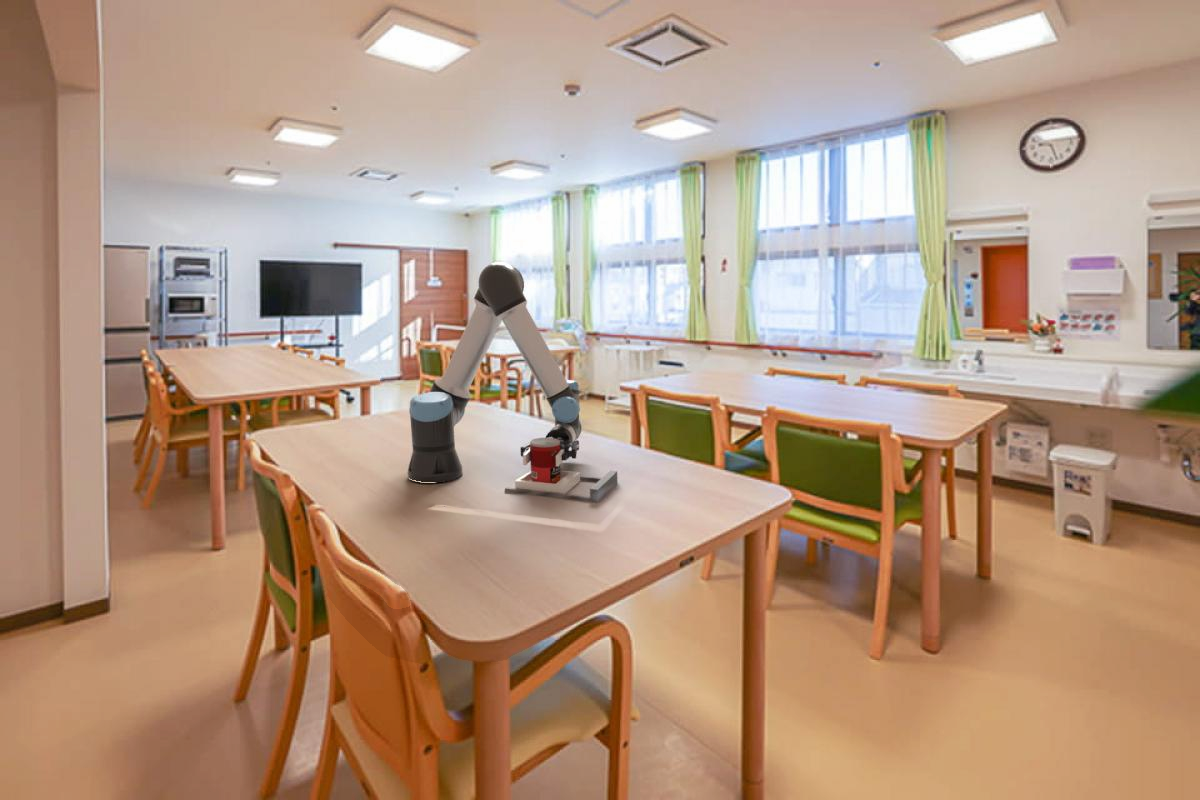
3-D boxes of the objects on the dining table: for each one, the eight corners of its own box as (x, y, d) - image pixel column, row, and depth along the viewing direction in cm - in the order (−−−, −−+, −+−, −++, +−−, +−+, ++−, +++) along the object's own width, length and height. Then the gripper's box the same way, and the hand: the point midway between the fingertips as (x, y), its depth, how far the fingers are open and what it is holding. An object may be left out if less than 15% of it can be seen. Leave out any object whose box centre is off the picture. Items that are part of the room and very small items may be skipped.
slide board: (505, 495, 158) (504, 479, 157) (531, 477, 173) (531, 462, 172) (603, 507, 149) (603, 490, 148) (622, 486, 164) (622, 471, 163)
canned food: (556, 486, 158) (555, 445, 156) (527, 484, 159) (525, 444, 157) (564, 477, 165) (563, 438, 163) (535, 475, 167) (534, 436, 165)
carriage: (515, 490, 159) (514, 480, 158) (534, 476, 170) (534, 467, 169) (563, 495, 154) (563, 486, 154) (580, 481, 166) (579, 472, 165)
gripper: (595, 452, 177) (580, 476, 155) (526, 450, 181) (502, 473, 159) (595, 427, 176) (580, 447, 154) (525, 425, 179) (501, 445, 157)
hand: (540, 460), depth 156 cm, fingers closed on canned food, 8 cm apart
